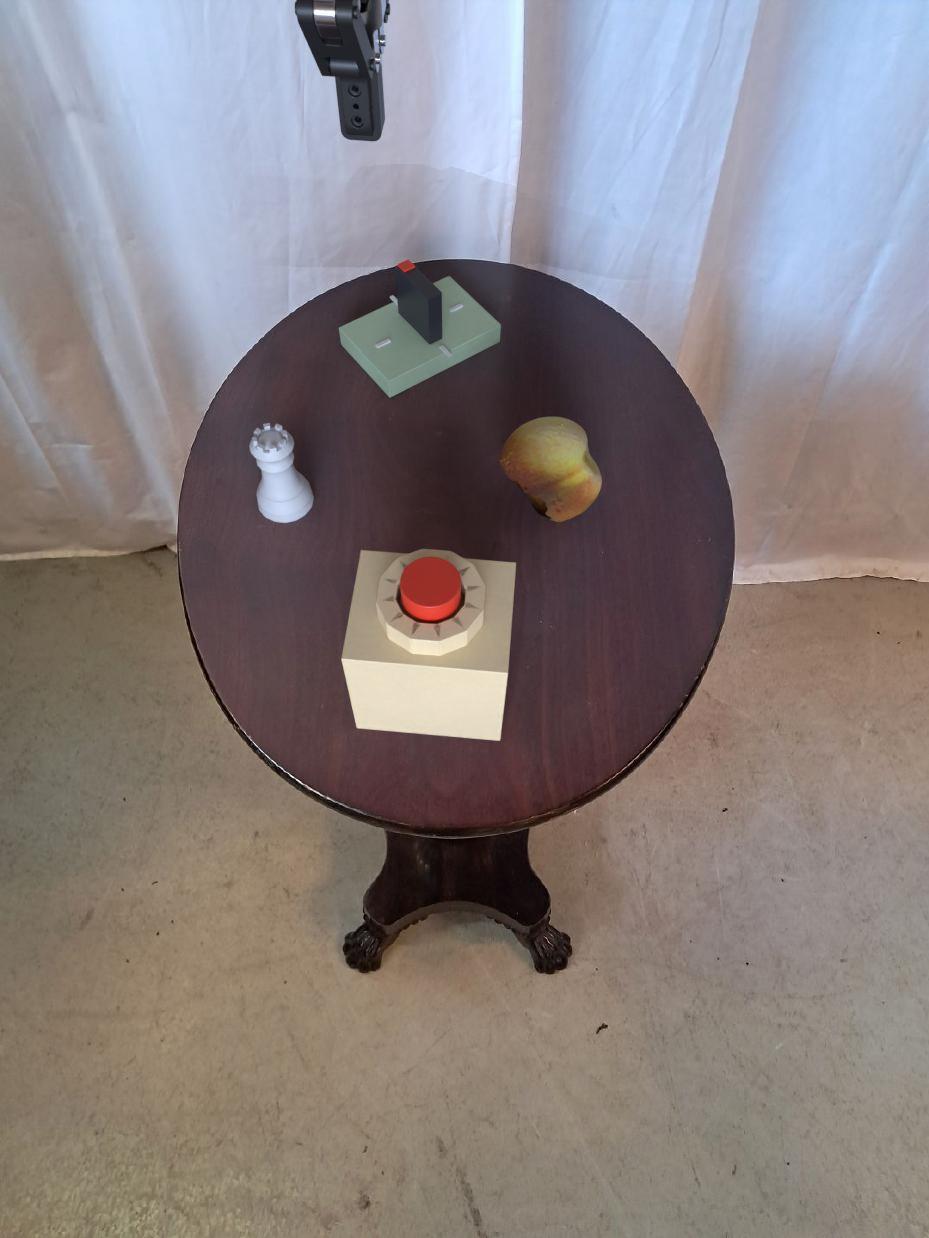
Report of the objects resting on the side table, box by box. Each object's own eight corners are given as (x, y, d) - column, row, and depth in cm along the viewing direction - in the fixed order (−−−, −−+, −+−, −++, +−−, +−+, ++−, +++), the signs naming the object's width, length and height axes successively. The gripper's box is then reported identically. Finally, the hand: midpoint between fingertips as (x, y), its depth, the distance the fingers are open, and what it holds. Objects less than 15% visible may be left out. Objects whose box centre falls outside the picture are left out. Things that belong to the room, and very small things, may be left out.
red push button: (397, 620, 54) (396, 604, 53) (405, 569, 56) (403, 553, 54) (457, 625, 54) (458, 609, 52) (463, 574, 56) (463, 558, 54)
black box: (442, 338, 80) (442, 289, 75) (429, 345, 79) (428, 296, 75) (410, 306, 82) (408, 257, 77) (397, 313, 81) (394, 263, 77)
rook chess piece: (286, 473, 75) (269, 403, 68) (326, 501, 73) (313, 433, 66) (246, 506, 73) (225, 438, 66) (286, 535, 71) (268, 469, 64)
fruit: (575, 555, 71) (588, 490, 64) (479, 517, 72) (481, 450, 66) (610, 486, 74) (626, 418, 67) (518, 452, 76) (524, 381, 69)
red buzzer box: (356, 728, 63) (337, 644, 53) (372, 629, 67) (358, 533, 57) (500, 741, 63) (509, 659, 52) (507, 640, 67) (518, 545, 56)
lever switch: (393, 402, 79) (392, 384, 77) (337, 341, 82) (334, 322, 81) (504, 346, 82) (505, 327, 81) (445, 289, 86) (445, 270, 84)
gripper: (400, -237, 31) (417, 214, 46) (442, -357, 38) (445, 70, 53) (184, -248, 31) (271, 203, 46) (264, -366, 38) (317, 62, 53)
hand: (363, 132), depth 50 cm, fingers closed
